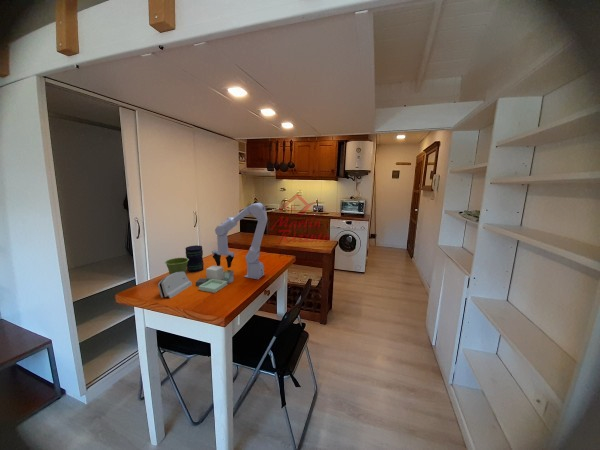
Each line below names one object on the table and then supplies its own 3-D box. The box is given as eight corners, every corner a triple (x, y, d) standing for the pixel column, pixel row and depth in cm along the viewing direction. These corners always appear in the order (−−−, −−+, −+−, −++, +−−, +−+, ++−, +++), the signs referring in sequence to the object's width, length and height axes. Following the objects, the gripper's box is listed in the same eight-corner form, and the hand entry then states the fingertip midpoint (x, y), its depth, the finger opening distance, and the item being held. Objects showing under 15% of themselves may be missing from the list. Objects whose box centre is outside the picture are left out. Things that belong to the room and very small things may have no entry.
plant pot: (174, 285, 120) (173, 265, 119) (162, 280, 126) (160, 261, 124) (194, 277, 131) (193, 259, 129) (182, 273, 136) (180, 256, 134)
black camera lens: (206, 267, 148) (205, 245, 145) (199, 272, 138) (198, 249, 136) (191, 267, 148) (190, 245, 145) (183, 272, 138) (182, 249, 136)
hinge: (169, 298, 106) (161, 279, 105) (162, 301, 107) (154, 282, 106) (192, 284, 122) (186, 267, 121) (185, 286, 123) (179, 269, 122)
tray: (227, 284, 121) (227, 281, 121) (214, 293, 112) (214, 289, 112) (212, 282, 125) (211, 278, 124) (198, 290, 115) (198, 286, 115)
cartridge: (233, 280, 127) (233, 270, 126) (229, 283, 123) (228, 272, 122) (227, 279, 128) (227, 269, 127) (223, 282, 125) (222, 271, 124)
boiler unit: (224, 278, 131) (223, 266, 129) (217, 282, 125) (216, 270, 124) (212, 276, 133) (211, 265, 132) (205, 280, 127) (204, 268, 126)
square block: (209, 282, 125) (208, 278, 124) (205, 286, 120) (204, 282, 120) (200, 282, 125) (199, 278, 125) (195, 286, 120) (195, 282, 120)
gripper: (208, 245, 132) (209, 267, 134) (228, 247, 127) (230, 270, 129) (216, 242, 138) (217, 263, 140) (236, 244, 134) (237, 266, 136)
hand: (223, 266), depth 135 cm, fingers open, 7 cm apart
